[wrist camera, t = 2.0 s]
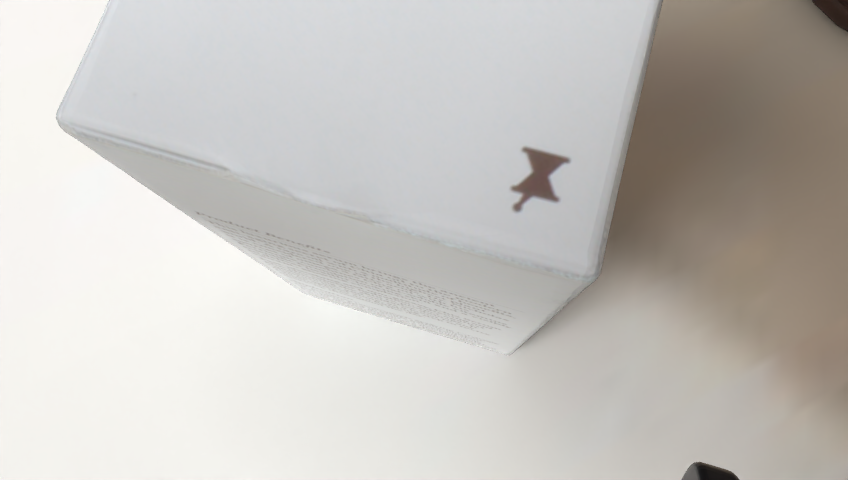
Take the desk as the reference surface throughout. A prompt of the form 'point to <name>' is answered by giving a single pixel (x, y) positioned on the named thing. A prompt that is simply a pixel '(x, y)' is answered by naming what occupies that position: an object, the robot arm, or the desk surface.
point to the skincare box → (382, 142)
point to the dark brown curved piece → (835, 11)
